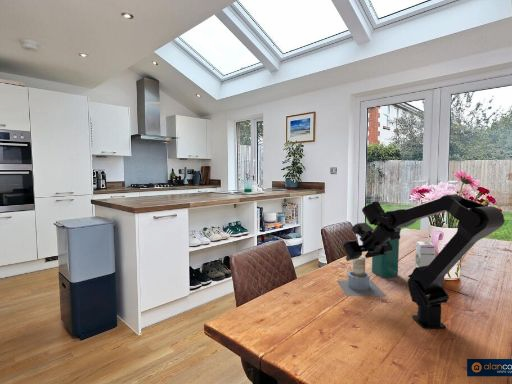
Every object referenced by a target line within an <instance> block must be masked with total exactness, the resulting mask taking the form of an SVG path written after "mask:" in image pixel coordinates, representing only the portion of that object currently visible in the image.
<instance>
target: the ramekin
mask: <svg viewBox="0 0 512 384" xmlns="http://www.w3.org/2000/svg"><path fill="white" fill-rule="evenodd" d="M346 281H347V285H348V286H349V287H350V288H353V289H357V290H366V289H369V287H370V281H371V275H370V273H368V272H366V271H365V277H356V276H353V270H350V271H347V278H346Z"/></svg>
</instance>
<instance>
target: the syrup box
mask: <svg viewBox="0 0 512 384" xmlns="http://www.w3.org/2000/svg"><path fill="white" fill-rule="evenodd" d="M435 257H436V245H435V244H434V243H432V242H431V241H416V242H415V267H414V269H415V268H416V267H421V266H427V265H429V264H430V263H431V262H432V261H433V260H434V258H435Z"/></svg>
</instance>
